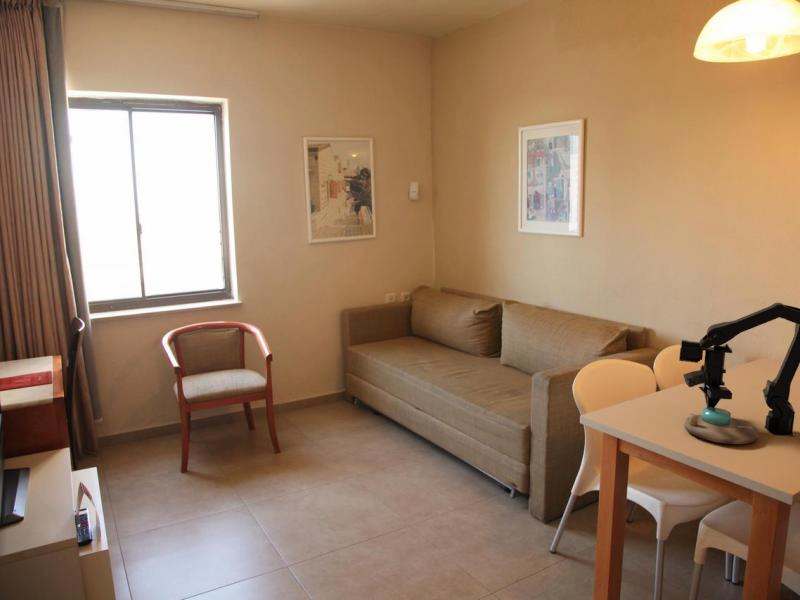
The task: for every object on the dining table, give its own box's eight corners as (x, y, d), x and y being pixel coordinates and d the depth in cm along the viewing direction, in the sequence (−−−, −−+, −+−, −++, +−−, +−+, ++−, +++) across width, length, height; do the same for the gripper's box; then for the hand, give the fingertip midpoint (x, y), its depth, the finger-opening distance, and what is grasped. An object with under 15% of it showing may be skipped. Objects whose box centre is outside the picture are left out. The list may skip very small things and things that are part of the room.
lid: (724, 417, 200) (725, 408, 200) (733, 426, 192) (734, 417, 192) (698, 415, 201) (698, 406, 201) (706, 424, 194) (707, 415, 193)
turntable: (742, 420, 201) (743, 407, 200) (769, 446, 182) (770, 431, 181) (676, 417, 204) (677, 404, 203) (695, 441, 184) (697, 427, 184)
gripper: (679, 355, 210) (675, 400, 213) (696, 371, 192) (691, 420, 195) (714, 357, 208) (710, 402, 211) (735, 373, 190) (730, 422, 193)
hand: (709, 411), depth 203 cm, fingers closed
